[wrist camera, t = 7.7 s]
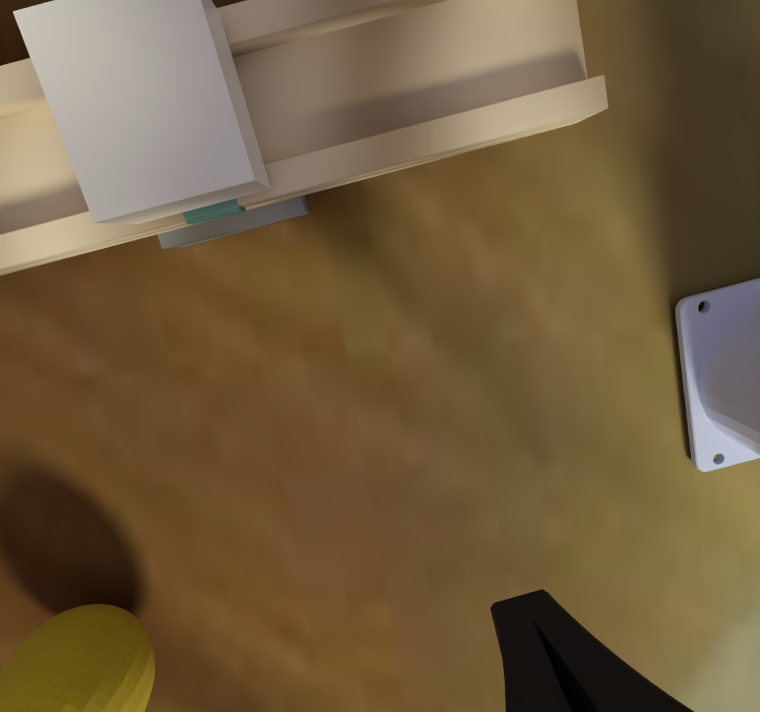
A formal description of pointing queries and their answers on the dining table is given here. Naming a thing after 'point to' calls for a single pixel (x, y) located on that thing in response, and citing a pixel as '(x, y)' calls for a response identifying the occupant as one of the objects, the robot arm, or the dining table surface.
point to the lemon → (81, 664)
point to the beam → (320, 110)
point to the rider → (145, 104)
